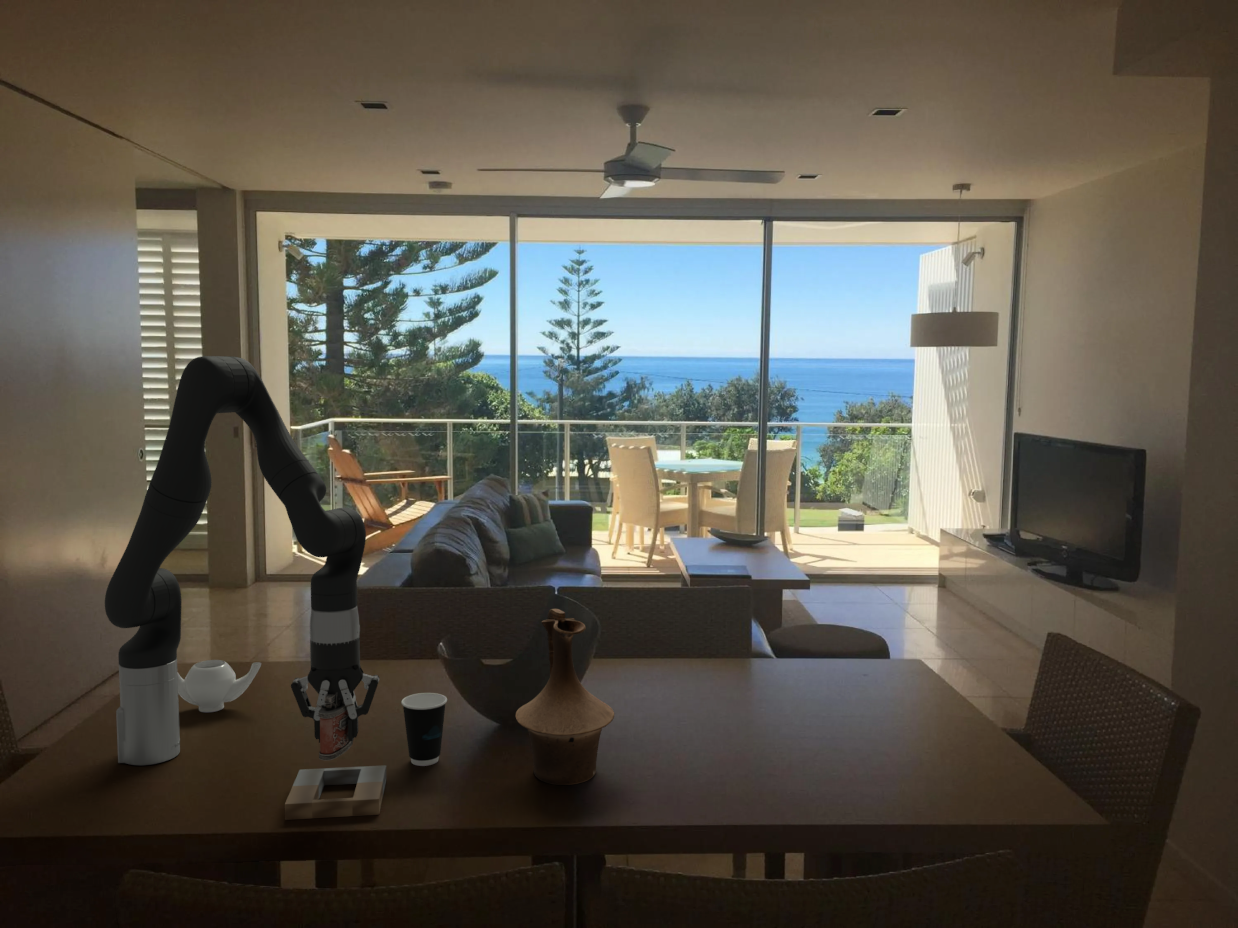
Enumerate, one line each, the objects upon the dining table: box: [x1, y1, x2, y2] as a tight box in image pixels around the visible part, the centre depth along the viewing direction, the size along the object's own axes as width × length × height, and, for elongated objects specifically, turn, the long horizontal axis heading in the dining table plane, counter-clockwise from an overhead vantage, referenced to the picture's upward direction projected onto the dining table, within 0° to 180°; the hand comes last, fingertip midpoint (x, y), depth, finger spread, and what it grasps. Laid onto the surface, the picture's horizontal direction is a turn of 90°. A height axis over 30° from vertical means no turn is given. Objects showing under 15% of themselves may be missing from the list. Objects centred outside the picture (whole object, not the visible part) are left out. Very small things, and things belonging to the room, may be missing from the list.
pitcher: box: [515, 608, 615, 786], centre depth 165 cm, size 18×17×28 cm
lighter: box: [318, 692, 354, 761], centre depth 154 cm, size 8×3×10 cm, turn 169°
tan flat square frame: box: [284, 764, 387, 821], centre depth 155 cm, size 14×13×2 cm
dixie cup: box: [401, 692, 448, 767], centre depth 171 cm, size 8×8×11 cm
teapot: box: [177, 659, 262, 713], centre depth 196 cm, size 10×20×9 cm, turn 95°
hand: (336, 739), depth 154 cm, fingers closed on lighter, 4 cm apart
